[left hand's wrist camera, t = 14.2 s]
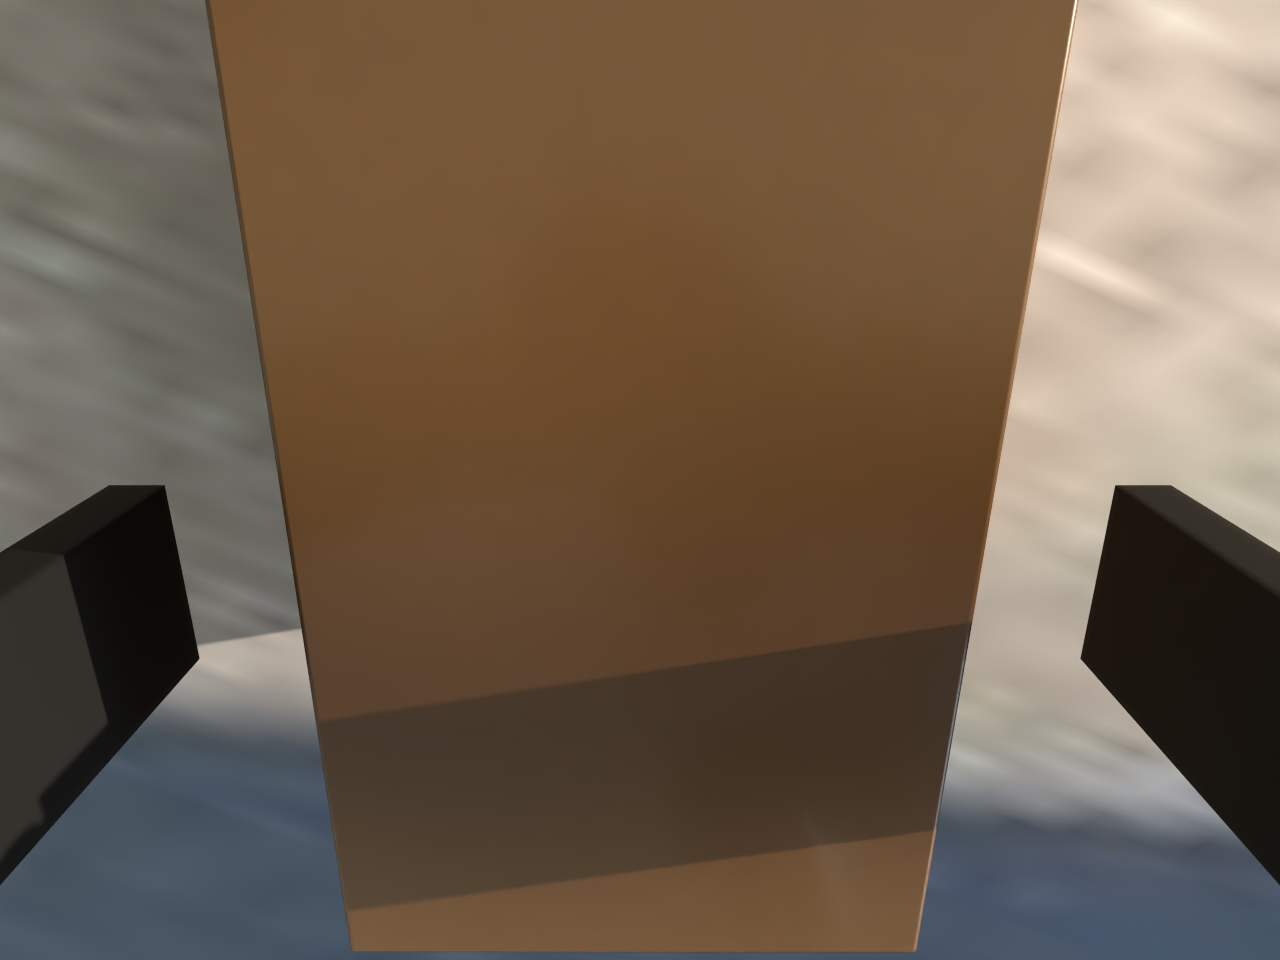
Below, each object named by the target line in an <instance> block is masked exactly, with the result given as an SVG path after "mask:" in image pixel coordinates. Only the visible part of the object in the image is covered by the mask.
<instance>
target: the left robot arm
mask: <svg viewBox="0 0 1280 960" xmlns="http://www.w3.org/2000/svg"><path fill="white" fill-rule="evenodd" d="M198 660H199V654H198V649H197V644H196V639H195V634H194V629H193V624H192V619H191V614H190V609H189V604H188V599H187V594H186V589H185V584H184V579H183V574H182V569H181V564H180V559H179V554H178V549H177V544H176V539H175V535H174V530H173V525H172V520H171V515H170V510H169V505H168V500H167V495H166V490H165V485H109V486H107V487H106V488H104V489H102V490H101V491H99V492H98V493H96V494H94V495H93V496H91V497H89V498H88V499H86V500H85V501H83V502H81V503H80V504H78V505H77V506H75V507H73V508H72V509H70V510H68V511H67V512H65V513H64V514H62V515H60V516H59V517H57V518H55V519H54V520H52V521H51V522H49V523H47V524H46V525H44V526H42V527H41V528H39V529H38V530H36V531H34V532H33V533H31V534H29V535H28V536H26V537H25V538H23V539H21V540H20V541H18V542H16V543H15V544H13V545H12V546H10V547H8V548H7V549H5V550H4V551H2V552H0V885H1V884H2V882H3V881H4V880H5V879H6V878H7V877H8V876H9V875H10V873H11V872H12V871H13V870H14V869H15V868H16V867H17V865H18V864H19V863H20V862H21V861H22V860H23V859H24V857H25V856H26V855H27V854H28V853H29V852H30V851H31V850H32V848H33V847H34V846H35V845H36V844H37V843H38V842H39V840H40V839H41V838H42V837H43V836H44V835H45V834H46V832H47V831H48V830H49V829H50V828H51V827H52V826H53V825H54V823H55V822H56V821H57V820H58V819H59V818H60V817H61V815H62V814H63V813H64V812H65V811H66V810H67V809H68V807H69V806H70V805H71V804H72V803H73V802H74V801H75V800H76V798H77V797H78V796H79V795H80V794H81V793H82V792H83V790H84V789H85V788H86V787H87V786H88V785H89V784H90V782H91V781H92V780H93V779H94V778H95V777H96V776H97V775H98V773H99V772H100V771H101V770H102V769H103V768H104V767H105V765H106V764H107V763H108V762H109V761H110V760H111V759H112V757H113V756H114V755H115V754H116V753H117V752H118V751H119V750H120V748H121V747H122V746H123V745H124V744H125V743H126V742H127V740H128V739H129V738H130V737H131V736H132V735H133V734H134V732H135V731H136V730H137V729H138V728H139V727H140V726H141V725H142V723H143V722H144V721H145V720H146V719H147V718H148V717H149V715H150V714H151V713H152V712H153V711H154V710H155V709H156V707H157V706H158V705H159V704H160V703H161V702H162V701H163V700H164V698H165V697H166V696H167V695H168V694H169V693H170V692H171V690H172V689H173V688H174V687H175V686H176V685H177V684H178V683H179V681H180V680H181V679H182V678H183V677H184V676H185V675H186V673H187V672H188V671H189V670H190V669H191V668H192V667H193V665H194V664H195V663H196V662H197V661H198ZM1081 660H1082V661H1083V662H1084V663H1085V664H1086V665H1087V667H1088V668H1089V669H1090V670H1091V671H1092V672H1093V673H1094V675H1095V676H1096V677H1097V678H1098V679H1099V680H1100V681H1101V683H1102V684H1103V685H1104V686H1105V687H1106V688H1107V689H1108V690H1109V692H1110V693H1111V694H1112V695H1113V696H1114V697H1115V698H1116V700H1117V701H1118V702H1119V703H1120V704H1121V705H1122V706H1123V708H1124V709H1125V710H1126V711H1127V712H1128V713H1129V714H1130V715H1131V717H1132V718H1133V719H1134V720H1135V721H1136V722H1137V723H1138V725H1139V726H1140V727H1141V728H1142V729H1143V730H1144V731H1145V732H1146V734H1147V735H1148V736H1149V737H1150V738H1151V739H1152V740H1153V742H1154V743H1155V744H1156V745H1157V746H1158V747H1159V748H1160V750H1161V751H1162V752H1163V753H1164V754H1165V755H1166V756H1167V757H1168V759H1169V760H1170V761H1171V762H1172V763H1173V764H1174V765H1175V767H1176V768H1177V769H1178V770H1179V771H1180V772H1181V773H1182V775H1183V776H1184V777H1185V778H1186V779H1187V780H1188V781H1189V782H1190V784H1191V785H1192V786H1193V787H1194V788H1195V789H1196V790H1197V792H1198V793H1199V794H1200V795H1201V796H1202V797H1203V798H1204V800H1205V801H1206V802H1207V803H1208V804H1209V805H1210V806H1211V807H1212V809H1213V810H1214V811H1215V812H1216V813H1217V814H1218V815H1219V817H1220V818H1221V819H1222V820H1223V821H1224V822H1225V823H1226V825H1227V826H1228V827H1229V828H1230V829H1231V830H1232V831H1233V832H1234V834H1235V835H1236V836H1237V837H1238V838H1239V839H1240V840H1241V842H1242V843H1243V844H1244V845H1245V846H1246V847H1247V848H1248V850H1249V851H1250V852H1251V853H1252V854H1253V855H1254V856H1255V857H1256V859H1257V860H1258V861H1259V862H1260V863H1261V864H1262V865H1263V867H1264V868H1265V869H1266V870H1267V871H1268V872H1269V873H1270V875H1271V876H1272V877H1273V878H1274V879H1275V880H1276V881H1277V882H1278V884H1279V885H1280V552H1278V551H1276V550H1275V549H1273V548H1272V547H1270V546H1268V545H1267V544H1265V543H1264V542H1262V541H1260V540H1259V539H1257V538H1255V537H1254V536H1252V535H1251V534H1249V533H1247V532H1246V531H1244V530H1242V529H1241V528H1239V527H1238V526H1236V525H1234V524H1233V523H1231V522H1229V521H1228V520H1226V519H1225V518H1223V517H1221V516H1220V515H1218V514H1216V513H1215V512H1213V511H1212V510H1210V509H1208V508H1207V507H1205V506H1203V505H1202V504H1200V503H1199V502H1197V501H1195V500H1194V499H1192V498H1191V497H1189V496H1187V495H1186V494H1184V493H1182V492H1181V491H1179V490H1178V489H1176V488H1174V487H1173V486H1171V485H1115V490H1114V495H1113V500H1112V505H1111V510H1110V515H1109V520H1108V525H1107V530H1106V535H1105V539H1104V544H1103V549H1102V554H1101V559H1100V564H1099V569H1098V574H1097V579H1096V584H1095V589H1094V594H1093V599H1092V604H1091V609H1090V614H1089V619H1088V624H1087V629H1086V634H1085V639H1084V644H1083V649H1082V654H1081Z"/></svg>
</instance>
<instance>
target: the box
mask: <svg viewBox="0 0 1280 960" xmlns="http://www.w3.org/2000/svg"><path fill="white" fill-rule="evenodd" d="M205 2H206V8H207V15H208V21H209V28H210V34H211V41H212V47H213V54H214V60H215V67H216V73H217V80H218V86H219V93H220V99H221V106H222V112H223V119H224V125H225V132H226V139H227V145H228V152H229V158H230V165H231V171H232V178H233V184H234V191H235V197H236V204H237V210H238V217H239V223H240V230H241V236H242V243H243V249H244V256H245V262H246V269H247V275H248V282H249V289H250V295H251V302H252V308H253V315H254V321H255V328H256V334H257V341H258V347H259V354H260V360H261V367H262V373H263V380H264V386H265V393H266V399H267V406H268V412H269V419H270V425H271V432H272V439H273V445H274V452H275V458H276V465H277V471H278V478H279V484H280V491H281V497H282V504H283V510H284V517H285V523H286V530H287V536H288V543H289V549H290V556H291V562H292V569H293V575H294V582H295V589H296V595H297V602H298V608H299V615H300V621H301V628H302V634H303V641H304V647H305V654H306V660H307V667H308V673H309V680H310V686H311V693H312V699H313V706H314V712H315V719H316V725H317V732H318V738H319V745H320V752H321V758H322V765H323V771H324V778H325V784H326V791H327V797H328V804H329V810H330V817H331V823H332V830H333V836H334V843H335V849H336V856H337V862H338V869H339V875H340V882H341V888H342V895H343V902H344V908H345V915H346V921H347V928H348V934H349V941H350V947H351V950H352V951H355V952H785V953H912V952H915V950H916V947H917V941H918V935H919V929H920V924H921V918H922V912H923V906H924V900H925V894H926V888H927V883H928V877H929V871H930V865H931V859H932V853H933V848H934V842H935V836H936V830H937V824H938V818H939V813H940V807H941V801H942V795H943V789H944V783H945V777H946V772H947V766H948V760H949V754H950V748H951V742H952V737H953V731H954V725H955V719H956V713H957V707H958V701H959V696H960V690H961V684H962V678H963V672H964V666H965V661H966V655H967V649H968V643H969V637H970V631H971V625H972V620H973V614H974V608H975V602H976V596H977V590H978V585H979V579H980V573H981V567H982V561H983V555H984V549H985V544H986V538H987V532H988V526H989V520H990V514H991V509H992V503H993V497H994V491H995V485H996V479H997V474H998V468H999V462H1000V456H1001V450H1002V444H1003V438H1004V433H1005V427H1006V421H1007V415H1008V409H1009V403H1010V398H1011V392H1012V386H1013V380H1014V374H1015V368H1016V362H1017V357H1018V351H1019V345H1020V339H1021V333H1022V327H1023V322H1024V316H1025V310H1026V304H1027V298H1028V292H1029V286H1030V281H1031V275H1032V269H1033V263H1034V257H1035V251H1036V246H1037V240H1038V234H1039V228H1040V222H1041V216H1042V211H1043V205H1044V199H1045V193H1046V187H1047V181H1048V175H1049V170H1050V164H1051V158H1052V152H1053V146H1054V140H1055V135H1056V129H1057V123H1058V117H1059V111H1060V105H1061V99H1062V94H1063V88H1064V82H1065V76H1066V70H1067V64H1068V59H1069V53H1070V47H1071V41H1072V35H1073V29H1074V23H1075V18H1076V12H1077V6H1078V0H205Z"/></svg>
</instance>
